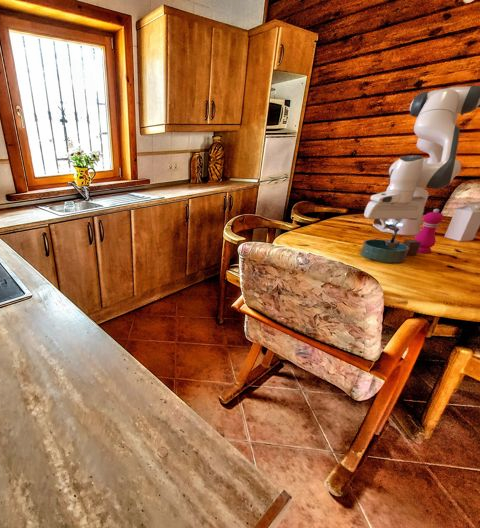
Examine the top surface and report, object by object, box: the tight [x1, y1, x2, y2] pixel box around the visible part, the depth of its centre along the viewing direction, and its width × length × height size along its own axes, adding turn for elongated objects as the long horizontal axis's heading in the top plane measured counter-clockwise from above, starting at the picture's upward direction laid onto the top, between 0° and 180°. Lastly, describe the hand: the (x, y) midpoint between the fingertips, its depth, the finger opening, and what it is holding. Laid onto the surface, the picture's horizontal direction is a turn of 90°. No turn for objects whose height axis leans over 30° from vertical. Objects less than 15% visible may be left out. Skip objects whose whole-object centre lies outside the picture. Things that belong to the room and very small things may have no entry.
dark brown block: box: [402, 238, 421, 257], centre depth 126 cm, size 4×4×6 cm
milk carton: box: [443, 201, 480, 242], centre depth 138 cm, size 7×7×19 cm
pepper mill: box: [413, 208, 444, 254], centre depth 126 cm, size 7×7×20 cm
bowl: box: [360, 239, 409, 264], centre depth 124 cm, size 15×15×6 cm
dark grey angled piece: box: [372, 219, 401, 248], centre depth 124 cm, size 17×5×8 cm, turn 170°
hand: (387, 228), depth 122 cm, fingers closed on dark grey angled piece
